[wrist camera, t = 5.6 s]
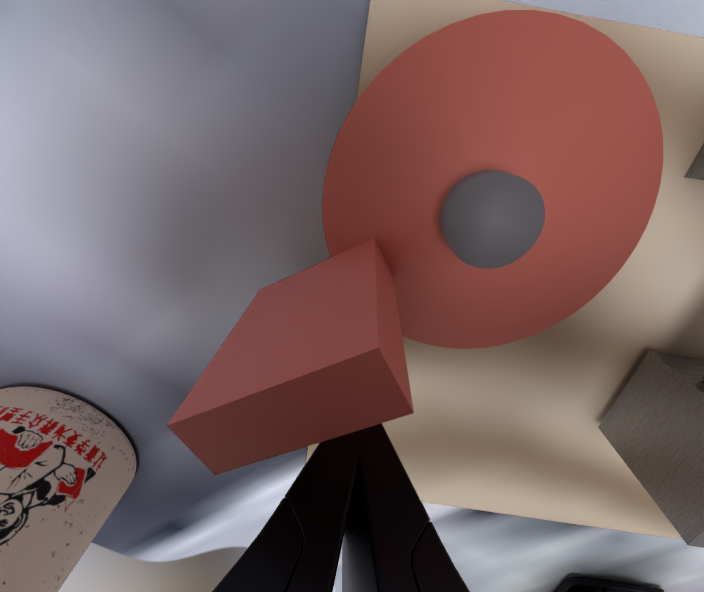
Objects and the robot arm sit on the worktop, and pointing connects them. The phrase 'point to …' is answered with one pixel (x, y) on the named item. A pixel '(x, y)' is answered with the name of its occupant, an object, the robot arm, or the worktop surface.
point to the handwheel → (441, 229)
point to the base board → (560, 324)
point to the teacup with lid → (54, 484)
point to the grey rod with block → (665, 437)
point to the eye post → (697, 166)
